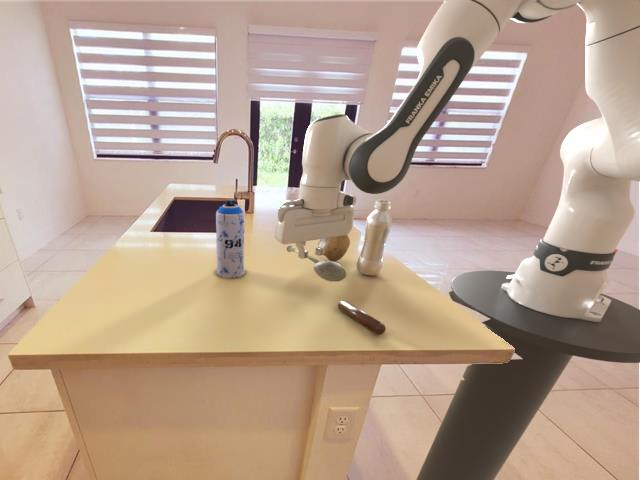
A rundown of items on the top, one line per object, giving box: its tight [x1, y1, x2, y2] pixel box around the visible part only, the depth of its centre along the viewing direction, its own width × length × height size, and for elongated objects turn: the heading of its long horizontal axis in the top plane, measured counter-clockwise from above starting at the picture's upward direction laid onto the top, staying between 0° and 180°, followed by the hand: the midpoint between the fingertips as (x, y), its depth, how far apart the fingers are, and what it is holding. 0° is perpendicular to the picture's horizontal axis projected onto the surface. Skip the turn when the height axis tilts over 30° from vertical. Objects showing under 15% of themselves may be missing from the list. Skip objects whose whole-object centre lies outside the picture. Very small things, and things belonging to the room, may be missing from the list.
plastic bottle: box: [356, 199, 393, 276], centre depth 84 cm, size 6×7×20 cm
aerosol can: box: [215, 199, 246, 279], centre depth 84 cm, size 8×8×20 cm
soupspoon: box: [286, 245, 347, 283], centre depth 76 cm, size 22×3×7 cm
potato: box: [317, 234, 351, 263], centre depth 95 cm, size 9×9×10 cm
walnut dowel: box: [337, 299, 387, 335], centre depth 66 cm, size 2×12×2 cm, turn 26°
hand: (311, 256), depth 77 cm, fingers closed on soupspoon, 3 cm apart
